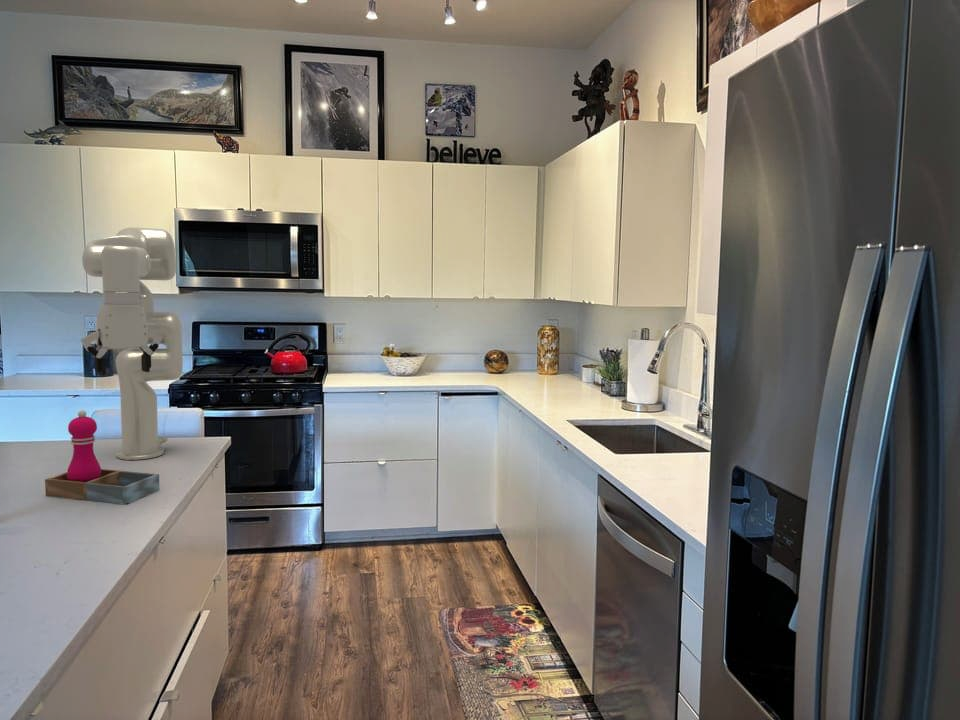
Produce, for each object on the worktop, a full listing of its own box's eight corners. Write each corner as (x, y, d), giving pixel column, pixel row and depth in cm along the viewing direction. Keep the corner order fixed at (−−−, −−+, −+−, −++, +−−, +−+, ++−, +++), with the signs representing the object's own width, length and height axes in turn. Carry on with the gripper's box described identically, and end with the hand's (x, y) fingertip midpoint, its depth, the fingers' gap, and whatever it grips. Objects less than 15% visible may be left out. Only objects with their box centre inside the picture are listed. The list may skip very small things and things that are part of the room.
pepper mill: (86, 496, 158) (83, 414, 156) (60, 494, 160) (56, 412, 157) (108, 488, 165) (106, 408, 163) (83, 485, 167) (80, 406, 164)
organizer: (83, 482, 169) (82, 467, 169) (159, 490, 165) (159, 474, 164) (45, 495, 158) (44, 479, 158) (126, 504, 154) (125, 487, 153)
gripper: (154, 299, 162) (155, 368, 164) (74, 299, 150) (77, 374, 152) (166, 300, 157) (168, 372, 159) (85, 300, 145) (88, 378, 147)
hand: (124, 373), depth 156 cm, fingers open, 9 cm apart
